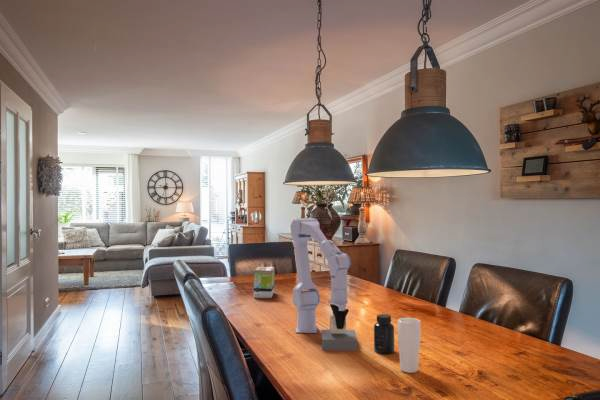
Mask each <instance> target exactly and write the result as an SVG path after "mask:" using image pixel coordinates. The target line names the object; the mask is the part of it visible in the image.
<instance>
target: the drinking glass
mask: <svg viewBox="0 0 600 400" xmlns="http://www.w3.org/2000/svg"><path fill="white" fill-rule="evenodd" d="M421 325H422V323H421V320H420V319H418V318H415V317H400V318H398V319H397V341H398V355H399V356H398V357H399V369H400V371H402V372H404V373H406V374H413V373H414V374H415V373H417V372H418V371H419V357H420V348H421V335H422V334H421V333H422V329H421V327H422V326H421Z"/></svg>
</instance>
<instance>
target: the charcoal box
mask: <svg viewBox="0 0 600 400" xmlns="http://www.w3.org/2000/svg"><path fill="white" fill-rule="evenodd" d="M321 351H343V352H344V351H345V352H346V351H347V352H348V351H349V352H353V351H354V352H357V351H358V337H357V334H356V331H355V329H346V333H331V330H330V329H321Z"/></svg>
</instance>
